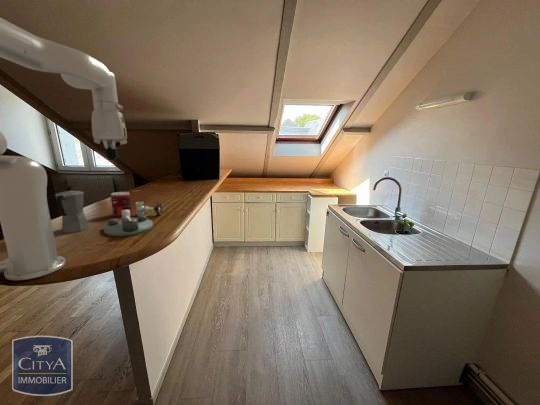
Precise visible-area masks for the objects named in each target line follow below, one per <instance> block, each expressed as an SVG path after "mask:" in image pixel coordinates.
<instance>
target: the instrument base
mask: <svg viewBox="0 0 540 405" xmlns="http://www.w3.org/2000/svg"><path fill="white" fill-rule="evenodd" d="M136 216H137V215H136ZM136 218H137V219H138V227H139V229H138V230H135V231H131V232H124V231H123V230H122V222H121V220H119V219H118V218H117V217H116V218H110V219H109V218H108V219H107V225H105V226H104V227H103V233H104V234H105V235H106V234H107V235H106V236H110V237H128V236H135V235H139V234H140V235H141V234H143V233H146V232H148V231H150V230H151V229H153V228H154V222H153V220H150V219H148V218H147V215H146V214H144V215H139V216H137V217H136Z"/></svg>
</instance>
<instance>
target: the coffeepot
mask: <svg viewBox="0 0 540 405" xmlns="http://www.w3.org/2000/svg"><path fill="white" fill-rule="evenodd" d="M54 197H55V199H56V201H55V203H56V205H57V207H58V209H59V212H60V213H61V217H62V219H61V221H62V222H61V223H62V224H61V232H62V233H65V234H68V233H69V234H70V233H71V234H73V233H79V232H82V231H85V230H87V229H89V227H90V226H89V223H88V221H87V217H86V215H85V212H84V191H81V190H72V186H71V185H67V186H66V190H65V191H62V192H58V193H55V195H54Z"/></svg>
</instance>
